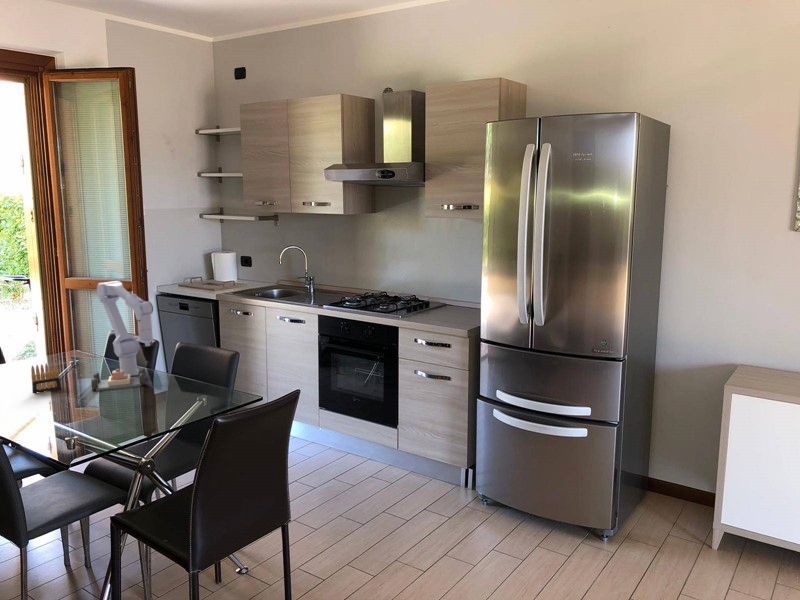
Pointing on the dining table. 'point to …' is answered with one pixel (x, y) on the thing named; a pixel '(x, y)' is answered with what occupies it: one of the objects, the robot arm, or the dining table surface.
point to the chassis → (118, 381)
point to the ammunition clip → (48, 381)
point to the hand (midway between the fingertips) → (147, 358)
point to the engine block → (118, 374)
